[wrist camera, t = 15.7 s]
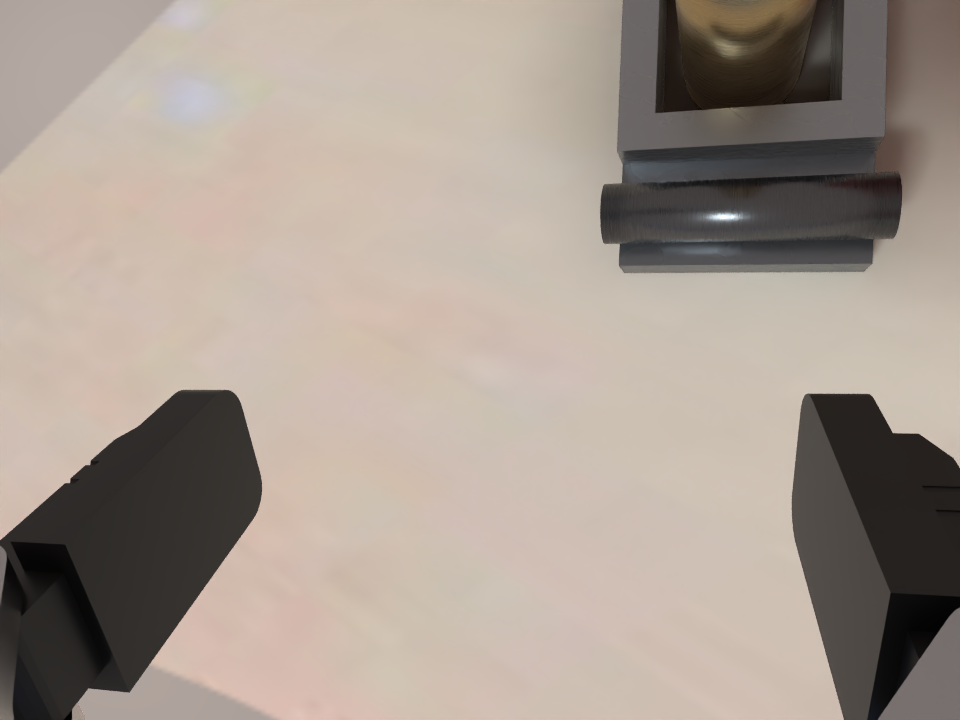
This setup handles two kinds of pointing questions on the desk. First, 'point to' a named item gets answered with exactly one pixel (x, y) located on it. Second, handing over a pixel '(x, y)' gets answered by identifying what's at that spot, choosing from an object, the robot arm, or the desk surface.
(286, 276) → the desk surface
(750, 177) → the grey roller frame base
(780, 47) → the bronze pin
